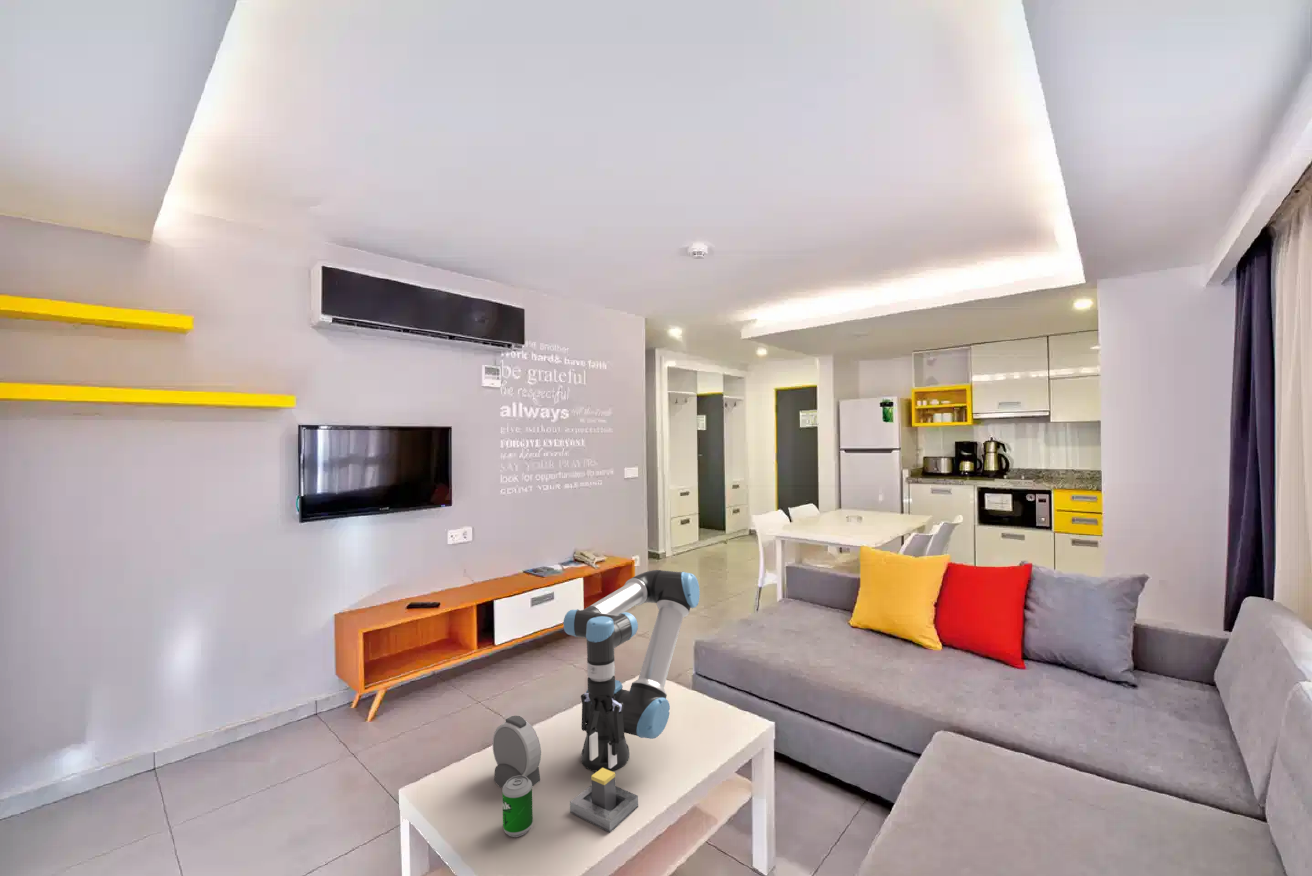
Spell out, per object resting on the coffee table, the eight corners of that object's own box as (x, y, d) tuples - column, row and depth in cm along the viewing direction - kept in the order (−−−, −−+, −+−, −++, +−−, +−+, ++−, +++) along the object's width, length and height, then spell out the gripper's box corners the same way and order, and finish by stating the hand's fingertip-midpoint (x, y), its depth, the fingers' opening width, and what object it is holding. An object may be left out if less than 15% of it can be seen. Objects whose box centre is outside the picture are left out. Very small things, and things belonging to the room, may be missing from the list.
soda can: (535, 818, 144) (534, 773, 144) (529, 838, 137) (528, 790, 137) (507, 820, 144) (506, 774, 144) (499, 840, 136) (498, 792, 137)
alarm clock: (548, 779, 161) (547, 718, 162) (522, 798, 153) (521, 733, 153) (512, 763, 170) (511, 705, 171) (485, 780, 162) (484, 718, 162)
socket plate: (570, 812, 146) (569, 799, 146) (599, 789, 156) (599, 776, 156) (609, 832, 138) (609, 818, 138) (638, 807, 148) (637, 793, 148)
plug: (592, 809, 146) (591, 776, 146) (603, 800, 150) (602, 767, 150) (605, 816, 143) (604, 781, 144) (616, 806, 147) (615, 773, 147)
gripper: (566, 673, 150) (568, 757, 150) (619, 689, 139) (621, 780, 139) (584, 664, 156) (586, 745, 156) (637, 679, 145) (639, 766, 145)
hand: (603, 761), depth 147 cm, fingers open, 6 cm apart
